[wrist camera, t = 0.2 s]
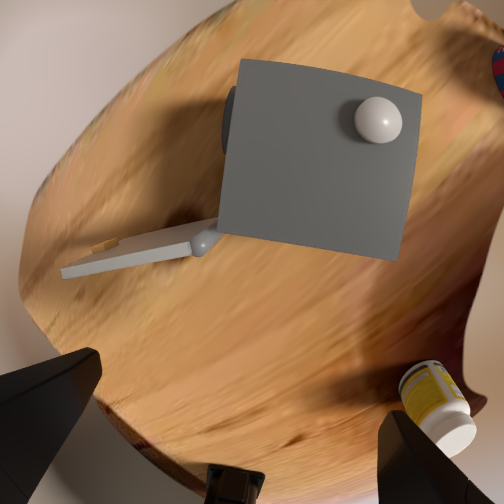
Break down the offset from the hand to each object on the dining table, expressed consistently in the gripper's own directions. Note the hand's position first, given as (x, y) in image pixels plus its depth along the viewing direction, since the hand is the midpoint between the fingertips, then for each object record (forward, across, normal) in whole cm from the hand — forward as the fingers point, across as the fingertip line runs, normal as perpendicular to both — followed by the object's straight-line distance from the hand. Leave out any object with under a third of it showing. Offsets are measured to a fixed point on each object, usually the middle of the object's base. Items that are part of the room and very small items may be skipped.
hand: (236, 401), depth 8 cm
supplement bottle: (+15, -15, +10) cm, 23 cm away
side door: (+14, +7, -1) cm, 15 cm away
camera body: (+15, -1, -6) cm, 16 cm away
